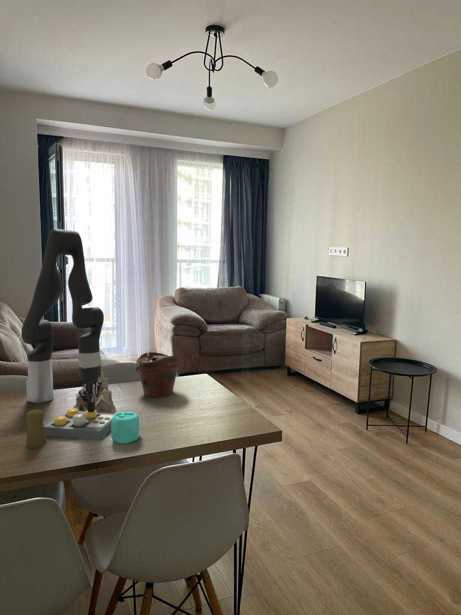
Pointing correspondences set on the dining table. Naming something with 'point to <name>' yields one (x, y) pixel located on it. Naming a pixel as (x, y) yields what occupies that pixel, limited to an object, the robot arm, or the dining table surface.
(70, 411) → the amber button
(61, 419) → the amber button
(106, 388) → the ceramic cottage
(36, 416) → the olive rounded cylinder
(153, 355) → the brown tapered round container
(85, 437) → the button board
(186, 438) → the dining table surface
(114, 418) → the decorative dice
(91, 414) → the amber button
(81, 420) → the white button
